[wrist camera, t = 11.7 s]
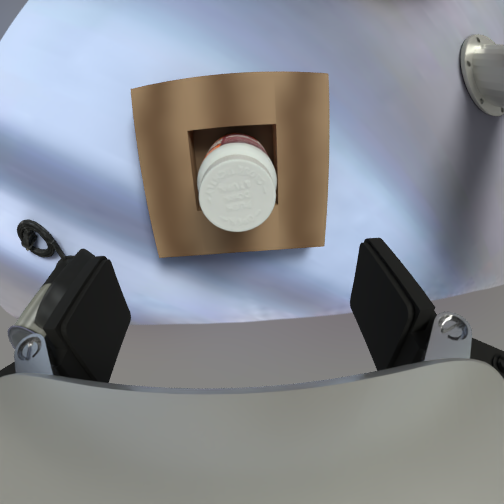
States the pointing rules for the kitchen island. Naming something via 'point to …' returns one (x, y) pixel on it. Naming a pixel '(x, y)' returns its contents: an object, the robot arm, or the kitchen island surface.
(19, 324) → the milk frother
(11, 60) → the kitchen island surface
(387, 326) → the robot arm
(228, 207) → the pill bottle
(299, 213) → the socket block
